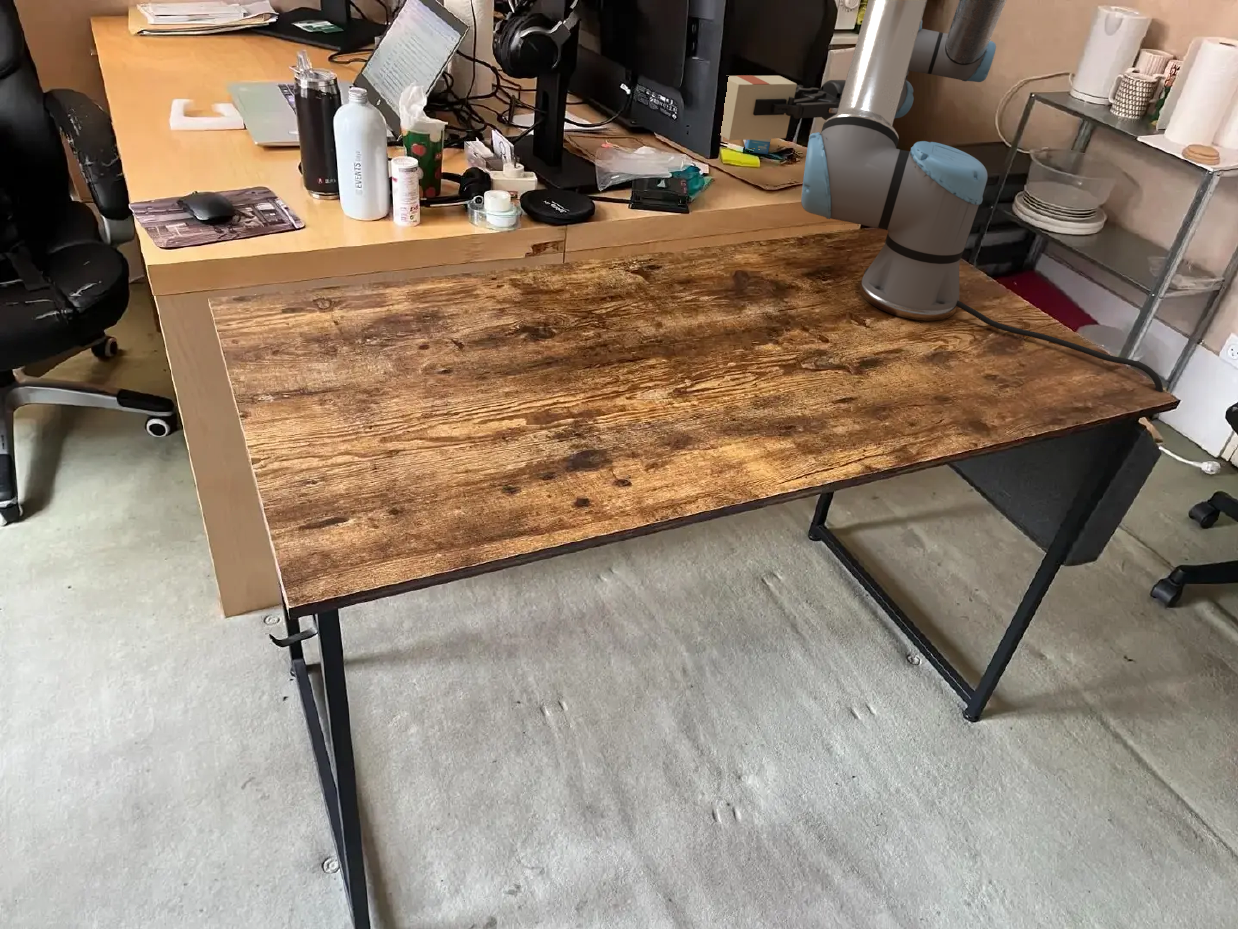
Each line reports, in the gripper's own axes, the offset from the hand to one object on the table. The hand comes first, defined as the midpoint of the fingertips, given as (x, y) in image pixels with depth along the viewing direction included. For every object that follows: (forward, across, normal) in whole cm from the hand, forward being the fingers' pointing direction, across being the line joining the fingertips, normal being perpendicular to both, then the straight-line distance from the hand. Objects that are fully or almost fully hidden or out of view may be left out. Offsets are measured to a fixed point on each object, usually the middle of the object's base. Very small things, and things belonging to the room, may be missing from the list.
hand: (746, 102), depth 170 cm
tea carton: (-2, 0, -1) cm, 2 cm away
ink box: (-16, +17, -14) cm, 28 cm away
